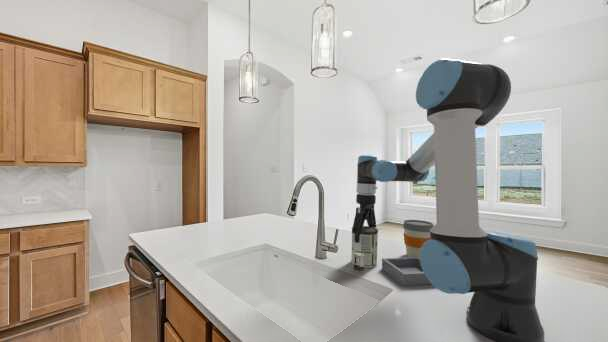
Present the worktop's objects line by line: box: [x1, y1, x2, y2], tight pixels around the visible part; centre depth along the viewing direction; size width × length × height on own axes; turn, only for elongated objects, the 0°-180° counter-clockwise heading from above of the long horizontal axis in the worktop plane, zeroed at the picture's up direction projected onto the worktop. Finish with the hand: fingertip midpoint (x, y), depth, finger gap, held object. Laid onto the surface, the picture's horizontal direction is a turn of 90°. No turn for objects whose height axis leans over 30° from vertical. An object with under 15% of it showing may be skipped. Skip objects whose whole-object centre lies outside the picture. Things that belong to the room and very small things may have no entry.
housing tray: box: [381, 257, 433, 287], centre depth 96 cm, size 15×15×4 cm
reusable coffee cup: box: [402, 219, 435, 258], centre depth 118 cm, size 13×13×15 cm
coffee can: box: [350, 225, 379, 269], centre depth 107 cm, size 10×10×14 cm
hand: (364, 246), depth 107 cm, fingers open, 13 cm apart
